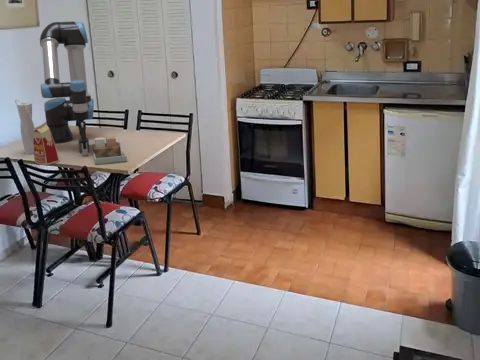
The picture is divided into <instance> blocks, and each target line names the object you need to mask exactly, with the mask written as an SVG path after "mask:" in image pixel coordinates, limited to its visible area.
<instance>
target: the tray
mask: <svg viewBox="0 0 480 360" xmlns="http://www.w3.org/2000/svg"><path fill="white" fill-rule="evenodd" d="M92 155H93V161H94V164H95V166H97V165H107V164H109V165H110V164H117V163H126V162H127V163H128V161H127V160H128V159H127V155H126V153H125V150H122V155H121V156H114V157H104V158H96V157H95V154H92Z"/></svg>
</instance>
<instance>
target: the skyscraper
mask: <svg viewBox="0 0 480 360" xmlns="http://www.w3.org/2000/svg"><path fill="white" fill-rule="evenodd" d="M14 102H15V104H16V108H17V112H18V116H19V119H20V121H19V122H20V136H21V140H22V146H23V149H24V153H25V155H32V154H33V155H34V144H33V141H34V131H35V124H34V120H33V103H32V102H31V101H22V100H20V99H19V100H18V99H15V100H14ZM17 102H20V103H19V104H18V103H17Z"/></svg>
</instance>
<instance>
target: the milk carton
mask: <svg viewBox="0 0 480 360" xmlns="http://www.w3.org/2000/svg"><path fill="white" fill-rule="evenodd" d="M34 128H35V131H34V141H33V144H34V153H33V156H34V157H33V159H34V163H35V164H37V165H39V166H49V165H53V164H56V163H60V158H59V154H58V150H57V145H56V143H55V142H54V139H53V137H52V134H51V132H50V129H49V127H48V126H47V124H46V121H44V122H43V123H41V124H40V125H38V126H34Z"/></svg>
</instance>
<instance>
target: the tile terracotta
mask: <svg viewBox="0 0 480 360" xmlns="http://www.w3.org/2000/svg"><path fill="white" fill-rule="evenodd" d="M116 139H117V138H116V137H115V136H107V137H105V143H106V145H107V147H113V146H116V142H117V140H116Z"/></svg>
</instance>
